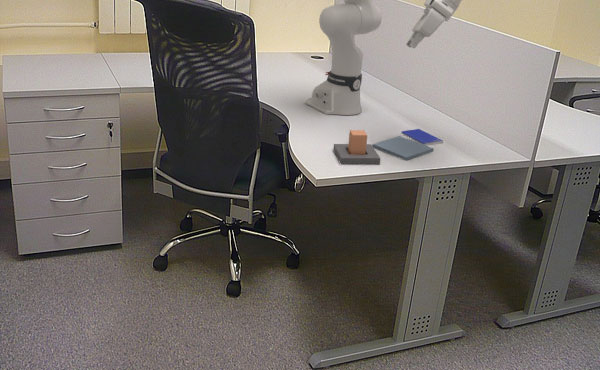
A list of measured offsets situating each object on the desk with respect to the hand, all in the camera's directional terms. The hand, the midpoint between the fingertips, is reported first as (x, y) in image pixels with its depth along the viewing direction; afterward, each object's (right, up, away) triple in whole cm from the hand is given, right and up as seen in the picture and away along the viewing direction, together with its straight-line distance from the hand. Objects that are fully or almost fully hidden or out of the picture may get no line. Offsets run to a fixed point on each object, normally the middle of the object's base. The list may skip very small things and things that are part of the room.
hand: (409, 46), depth 195 cm
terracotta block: (-16, -33, +6) cm, 37 cm away
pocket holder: (-16, -33, +6) cm, 37 cm away
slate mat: (0, -30, +15) cm, 33 cm away
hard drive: (+8, -26, +26) cm, 38 cm away
